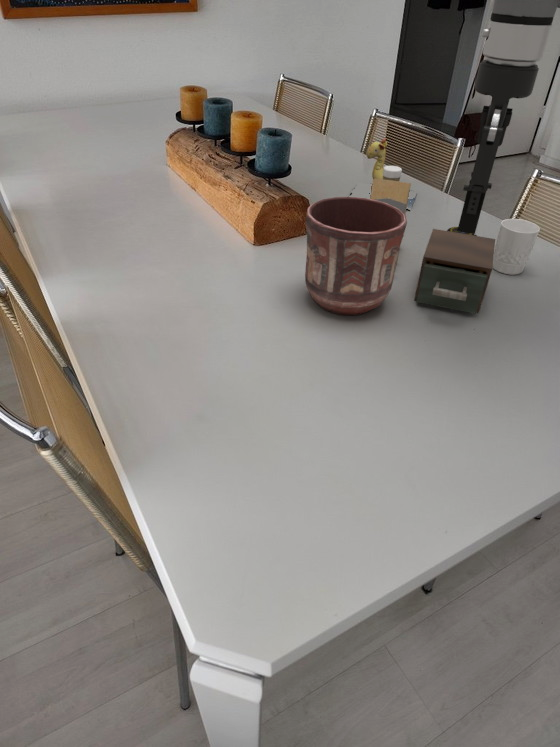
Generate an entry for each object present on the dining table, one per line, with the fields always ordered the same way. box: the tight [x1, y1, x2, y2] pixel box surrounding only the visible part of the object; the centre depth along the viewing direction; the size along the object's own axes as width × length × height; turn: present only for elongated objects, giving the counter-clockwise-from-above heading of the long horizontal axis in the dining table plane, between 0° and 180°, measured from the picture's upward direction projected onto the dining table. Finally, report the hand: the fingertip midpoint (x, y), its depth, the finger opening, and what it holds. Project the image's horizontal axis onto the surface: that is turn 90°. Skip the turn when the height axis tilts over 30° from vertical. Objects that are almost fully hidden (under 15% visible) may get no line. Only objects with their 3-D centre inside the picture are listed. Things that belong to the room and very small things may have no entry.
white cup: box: [492, 218, 541, 276], centre depth 119 cm, size 8×8×10 cm
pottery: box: [304, 196, 408, 316], centre depth 102 cm, size 18×18×18 cm
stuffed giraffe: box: [366, 137, 416, 209], centre depth 151 cm, size 16×18×16 cm
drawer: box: [416, 262, 487, 314], centre depth 106 cm, size 18×11×8 cm, turn 160°
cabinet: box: [413, 228, 496, 314], centre depth 110 cm, size 15×13×10 cm
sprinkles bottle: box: [383, 165, 403, 182], centre depth 138 cm, size 5×5×13 cm
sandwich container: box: [370, 178, 412, 269], centre depth 120 cm, size 9×15×15 cm, turn 166°
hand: (466, 230), depth 86 cm, fingers closed
